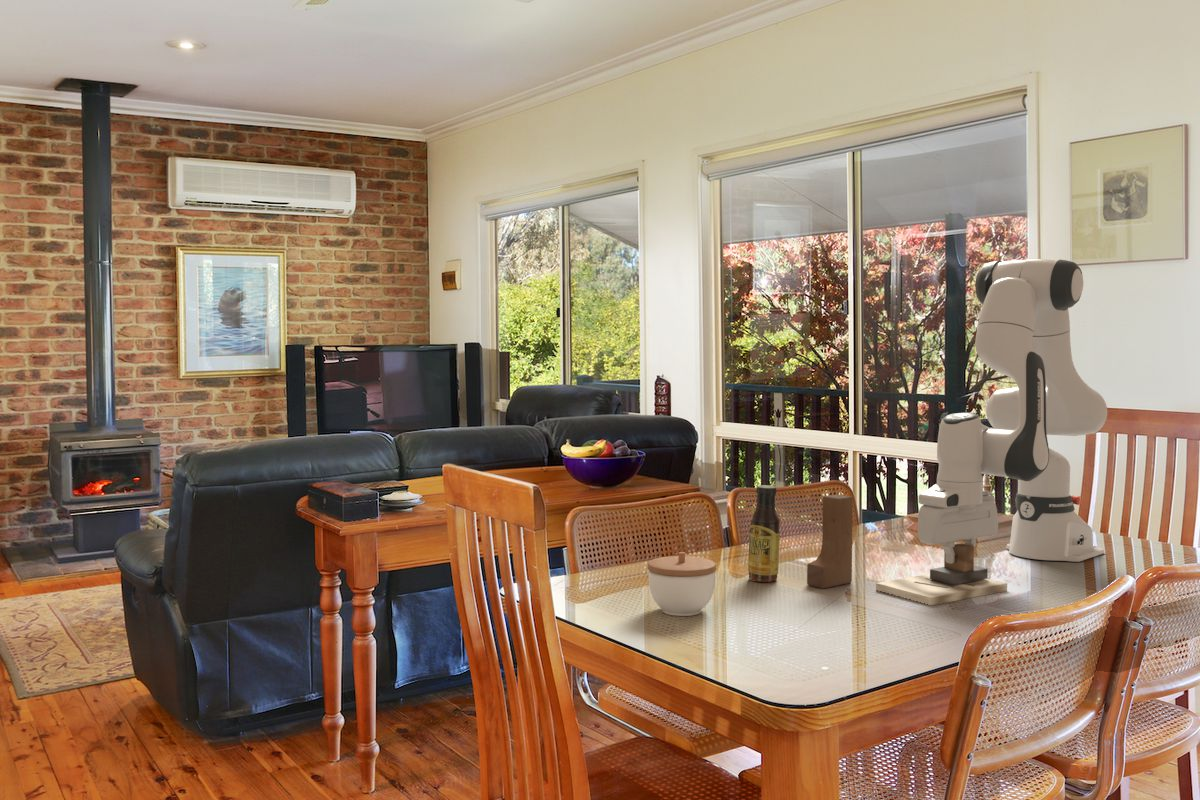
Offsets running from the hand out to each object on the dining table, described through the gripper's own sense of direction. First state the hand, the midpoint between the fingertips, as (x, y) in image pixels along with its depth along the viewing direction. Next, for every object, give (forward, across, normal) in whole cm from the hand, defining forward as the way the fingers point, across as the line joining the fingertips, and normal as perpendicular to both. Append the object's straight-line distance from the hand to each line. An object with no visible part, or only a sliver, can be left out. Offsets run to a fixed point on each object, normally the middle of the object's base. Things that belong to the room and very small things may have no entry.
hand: (958, 561), depth 212 cm
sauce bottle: (+5, +29, -26) cm, 39 cm away
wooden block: (+5, +20, -16) cm, 26 cm away
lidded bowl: (+5, +58, -15) cm, 60 cm away
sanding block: (+4, 0, 0) cm, 4 cm away
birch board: (+5, +5, 0) cm, 7 cm away
